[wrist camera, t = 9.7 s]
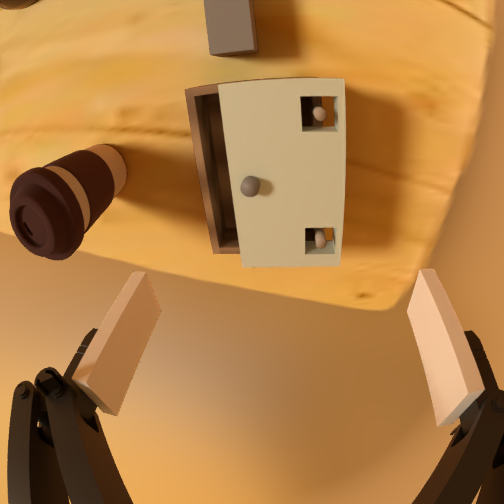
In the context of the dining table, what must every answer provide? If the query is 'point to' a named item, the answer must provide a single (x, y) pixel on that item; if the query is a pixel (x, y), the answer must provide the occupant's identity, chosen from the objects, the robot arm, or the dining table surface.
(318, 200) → the door
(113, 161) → the coffee cup
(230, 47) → the block
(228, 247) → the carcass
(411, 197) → the dining table surface
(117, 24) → the dining table surface
